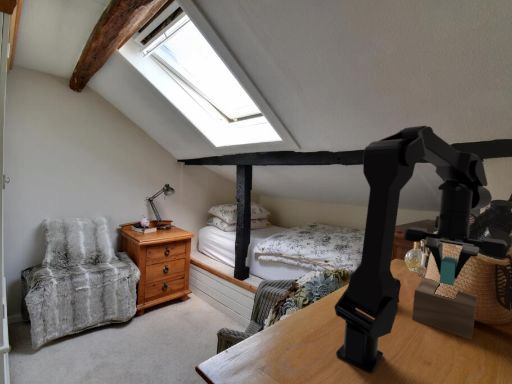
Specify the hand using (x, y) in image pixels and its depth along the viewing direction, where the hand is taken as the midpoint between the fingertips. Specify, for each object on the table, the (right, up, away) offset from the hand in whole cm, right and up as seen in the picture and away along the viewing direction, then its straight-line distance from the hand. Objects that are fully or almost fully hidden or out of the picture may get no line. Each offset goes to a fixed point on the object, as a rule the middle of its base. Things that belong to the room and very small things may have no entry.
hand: (448, 276), depth 64 cm
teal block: (0, -1, 0) cm, 1 cm away
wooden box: (0, -10, +1) cm, 11 cm away
